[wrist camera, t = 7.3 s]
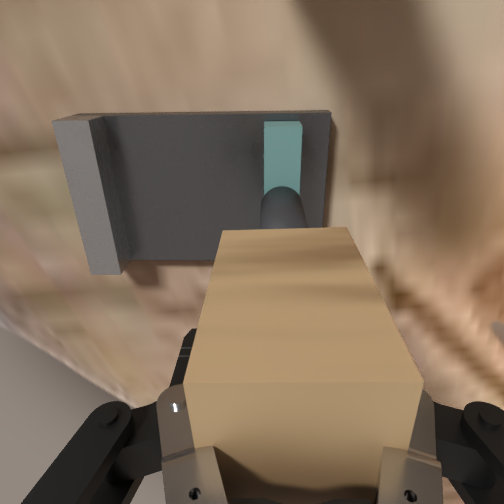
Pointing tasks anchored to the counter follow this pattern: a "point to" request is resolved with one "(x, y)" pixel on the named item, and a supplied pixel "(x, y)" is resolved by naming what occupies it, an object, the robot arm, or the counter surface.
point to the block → (298, 368)
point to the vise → (177, 180)
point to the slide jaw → (282, 176)
